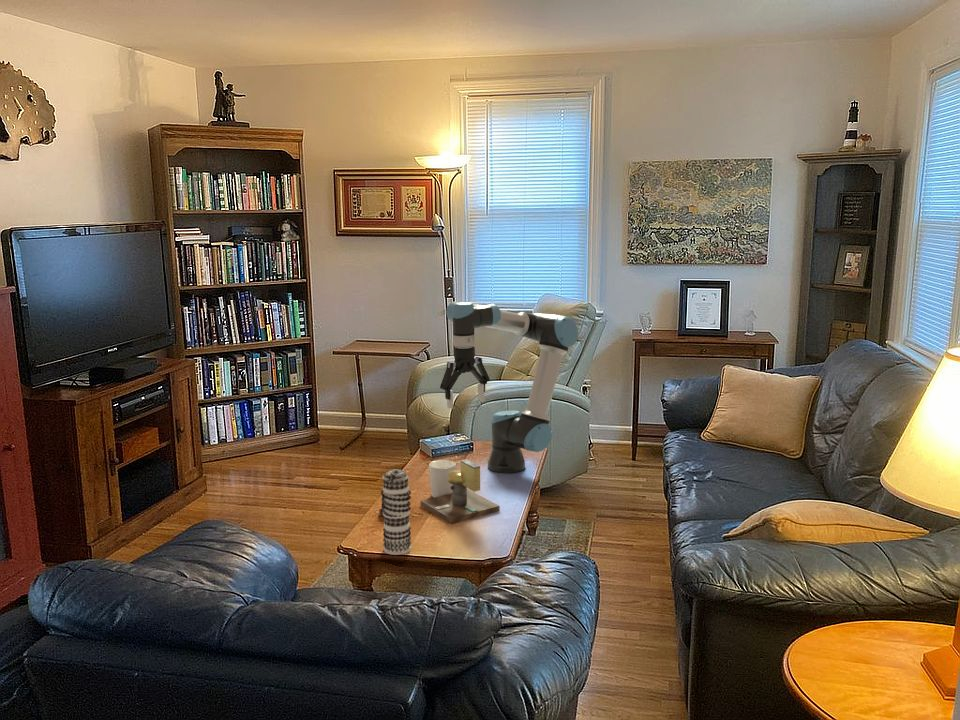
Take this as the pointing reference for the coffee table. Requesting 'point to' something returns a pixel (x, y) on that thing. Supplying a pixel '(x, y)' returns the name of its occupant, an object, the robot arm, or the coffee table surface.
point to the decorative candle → (396, 512)
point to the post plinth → (459, 505)
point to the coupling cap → (466, 475)
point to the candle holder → (440, 477)
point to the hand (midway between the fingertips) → (465, 404)
